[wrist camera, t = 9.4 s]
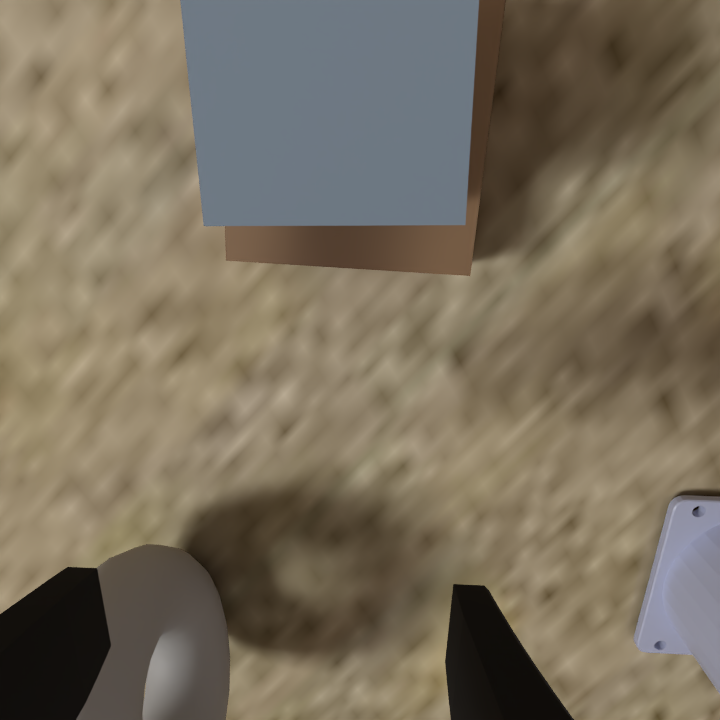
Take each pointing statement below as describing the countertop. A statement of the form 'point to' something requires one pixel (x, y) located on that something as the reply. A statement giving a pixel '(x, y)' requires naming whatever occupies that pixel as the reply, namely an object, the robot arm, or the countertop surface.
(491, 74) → the walnut block
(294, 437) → the countertop surface
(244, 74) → the grey block
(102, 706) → the donut
